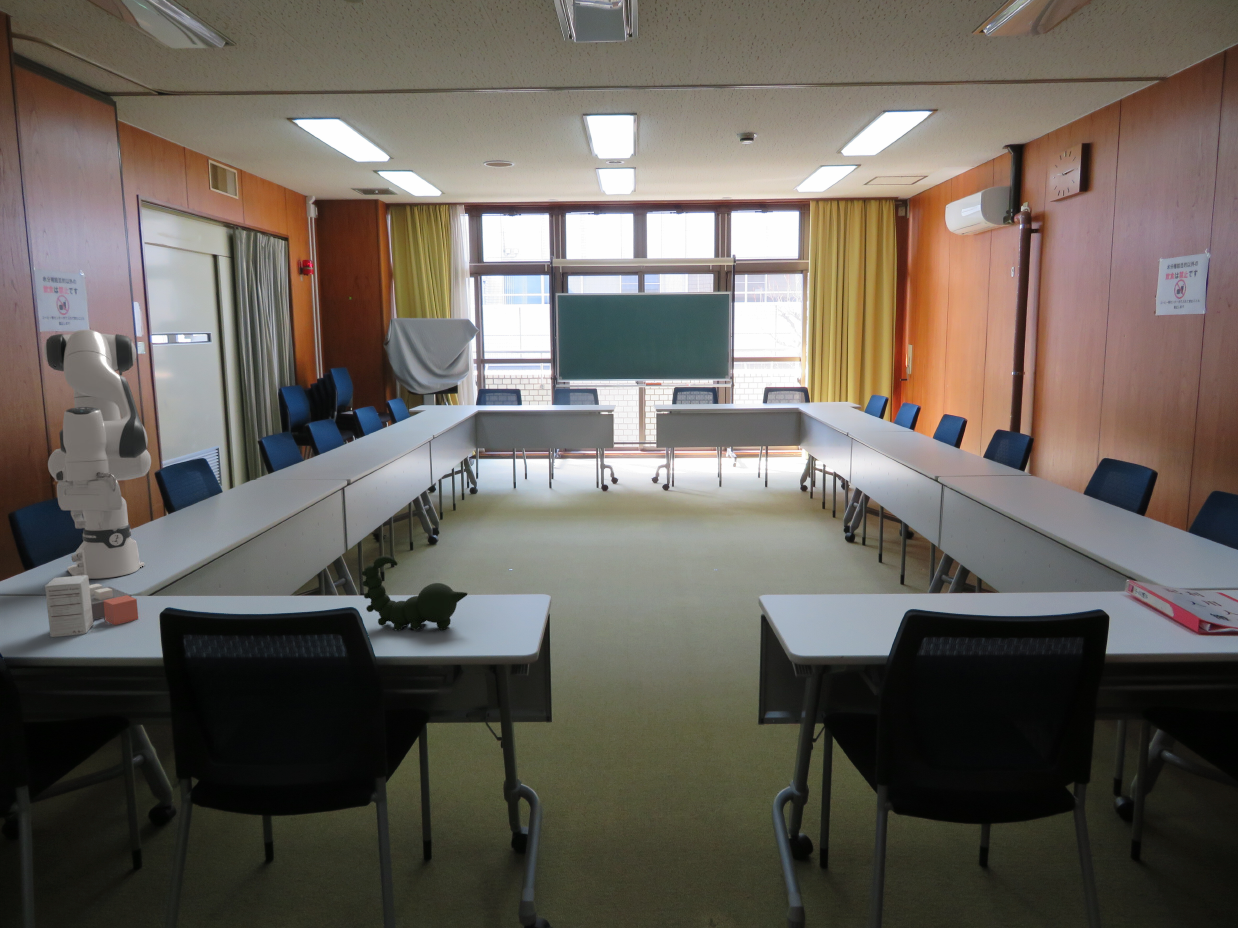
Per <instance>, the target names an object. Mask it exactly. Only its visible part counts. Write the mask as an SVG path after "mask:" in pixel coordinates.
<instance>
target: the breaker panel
mask: <svg viewBox="0 0 1238 928" xmlns="http://www.w3.org/2000/svg"><path fill="white" fill-rule="evenodd" d="M104 588H110V589H112V591H113V598H117V597H121V596H126V595H128V596H130V597H132V594H129V593H127V592H124V591H121V590H119V589H116V588H114V587H112V586H105V587H104ZM90 597H91V607H92V616H93V621H94V620H97V619H102V618H105V612H104V602H103V601H104V600H108V599H104V600H100V601H99V600H97V599H95V595H93V596H90ZM113 598H109V599H113Z"/></svg>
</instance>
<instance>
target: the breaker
mask: <svg viewBox="0 0 1238 928" xmlns="http://www.w3.org/2000/svg"><path fill="white" fill-rule="evenodd" d="M89 588H90V596H93V595H95V592H94V590H98V589H103V588H104V587H103V585H102V584H99V583H95V584H89Z"/></svg>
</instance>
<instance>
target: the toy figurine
mask: <svg viewBox="0 0 1238 928" xmlns="http://www.w3.org/2000/svg"><path fill="white" fill-rule="evenodd" d="M388 564H389V565H390V564H391V565H394V566H398V561H397V560H396V559H395V558H393V557H392V556H390V555H381V556H377V557H376V558H375V560H374V561H373V564H369V565H367V566H366V567H364V569H363V570H362V572H361V575H362V576H364V577H365V579H364V580H363V581H362V586H363V587H366V588H368V589H367V592H365V593H364V594H363V598H365V600H366V599H370V604H369V605H367V606H366V611H367V612H368V613H371V612H373V611H374V612H376V613H378V615H379V618H378V619H377V623H378V626H381V627H383V626H385V625H387V622H389V623H391V624H393V628H394V629H393V630H396V631H397V632H398V631H401V630H402V628H403V627H406V626H408V625H409V627H410V628H411V629H412V630H415V631H417V630H418V629H420V628H421V626H422V624H425V622H426V621H427V622H429V623H434V624H435V623H436V627H437V628H438V629H440V630H445V629H448V627H449V626H450V625H451V622H452V620H451V617H452V616H453V615H454V613H455V611H456V609H457V605H458V602H460V601H461V600H463V599H464V598H465V597H467V596H468V592H465V591H464V592H463V591H456V590H455V591H454V590H453V589H452V588H451V587H450V586H448V585H447V584H445V583H442V582H434V583H431V584H428V585H426V586H425V587H423V588H422V589H421V591H420V592H419V593H418V594H417V595H414V596H411V597H409V598H407V599H406V600H398V601H395V600H391V598H390V596H389V595H388V594H387V590H386V588H385V586H384V585H383V579H382V576H381V575H380V574H379V573H380V569H382V568H383V567H384V566H385V565H388Z"/></svg>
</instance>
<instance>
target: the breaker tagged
mask: <svg viewBox="0 0 1238 928" xmlns="http://www.w3.org/2000/svg"><path fill="white" fill-rule="evenodd" d="M102 588H103V589H98V590H94V592H95V599H97V600H99V601H100V600H104V599H109V598H113V591H112V589H110V588H105V587H102Z"/></svg>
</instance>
